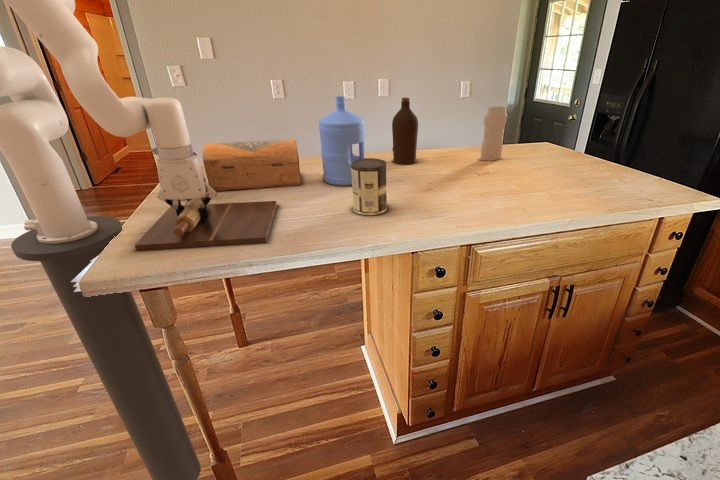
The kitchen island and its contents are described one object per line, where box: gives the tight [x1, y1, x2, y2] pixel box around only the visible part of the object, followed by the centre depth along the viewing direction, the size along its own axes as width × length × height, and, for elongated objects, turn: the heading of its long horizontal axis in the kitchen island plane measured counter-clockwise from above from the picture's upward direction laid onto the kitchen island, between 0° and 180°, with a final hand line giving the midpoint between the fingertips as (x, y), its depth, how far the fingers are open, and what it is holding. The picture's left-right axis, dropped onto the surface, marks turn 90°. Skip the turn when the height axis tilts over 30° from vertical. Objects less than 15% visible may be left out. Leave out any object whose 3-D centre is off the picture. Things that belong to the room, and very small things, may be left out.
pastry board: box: [134, 200, 278, 252], centre depth 107 cm, size 30×26×2 cm
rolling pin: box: [173, 194, 209, 236], centre depth 104 cm, size 4×24×4 cm, turn 10°
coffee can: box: [351, 157, 388, 216], centre depth 115 cm, size 10×10×14 cm
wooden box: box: [202, 139, 302, 192], centre depth 137 cm, size 30×16×14 cm, turn 105°
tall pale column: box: [479, 104, 508, 161], centre depth 165 cm, size 11×4×22 cm, turn 106°
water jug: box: [318, 96, 366, 187], centre depth 136 cm, size 16×16×28 cm
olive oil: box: [391, 97, 419, 165], centre depth 160 cm, size 11×11×25 cm
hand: (194, 220), depth 105 cm, fingers closed on rolling pin, 4 cm apart
